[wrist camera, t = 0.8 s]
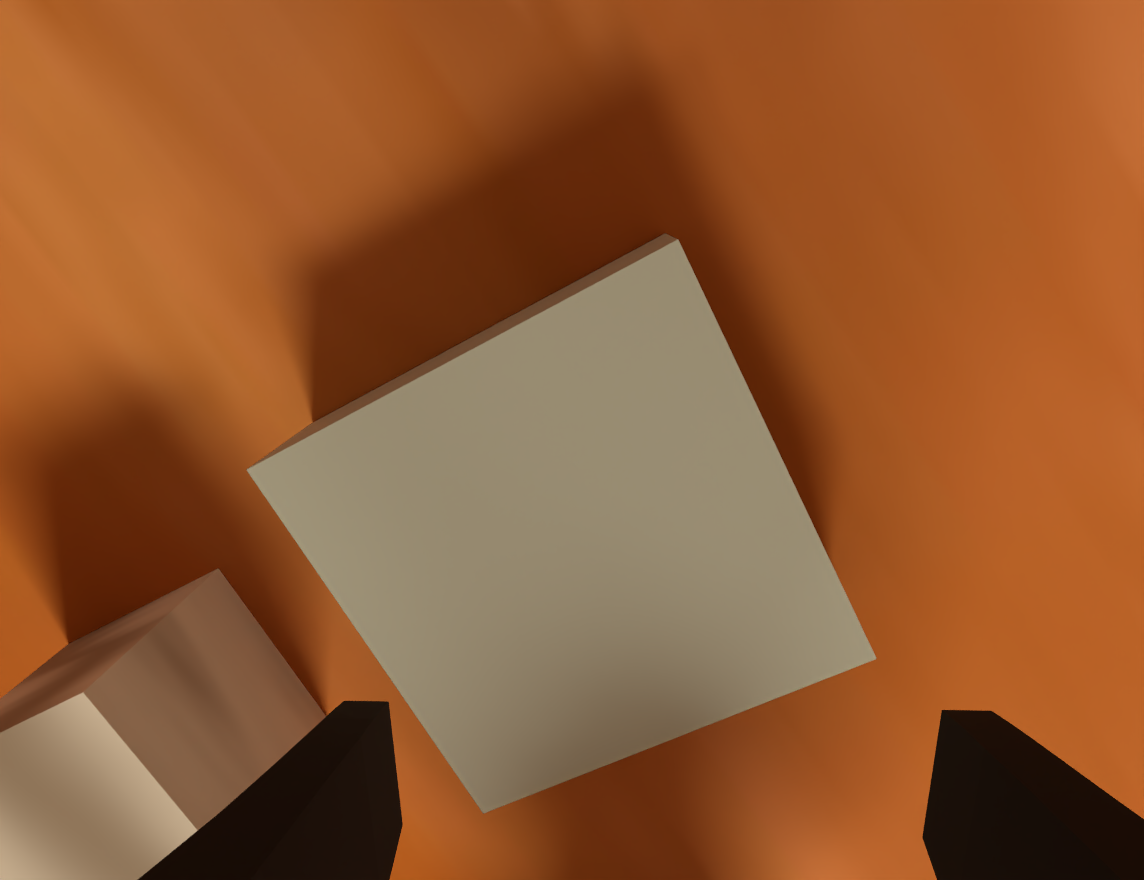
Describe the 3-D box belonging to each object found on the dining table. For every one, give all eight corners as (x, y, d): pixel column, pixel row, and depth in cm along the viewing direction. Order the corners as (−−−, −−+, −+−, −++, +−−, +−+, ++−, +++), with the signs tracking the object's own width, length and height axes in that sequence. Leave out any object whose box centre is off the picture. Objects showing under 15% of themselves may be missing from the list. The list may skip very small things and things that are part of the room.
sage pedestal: (503, 717, 21) (483, 813, 18) (311, 423, 19) (246, 469, 15) (830, 580, 19) (877, 658, 16) (665, 233, 17) (678, 239, 13)
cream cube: (183, 780, 23) (54, 953, 17) (70, 642, 21) (-107, 784, 16) (329, 716, 22) (238, 879, 16) (219, 566, 20) (83, 692, 15)
